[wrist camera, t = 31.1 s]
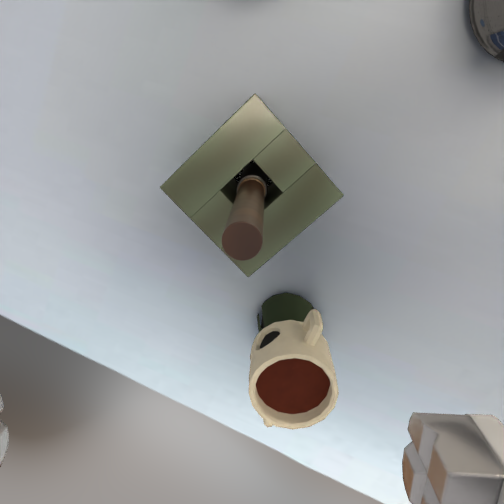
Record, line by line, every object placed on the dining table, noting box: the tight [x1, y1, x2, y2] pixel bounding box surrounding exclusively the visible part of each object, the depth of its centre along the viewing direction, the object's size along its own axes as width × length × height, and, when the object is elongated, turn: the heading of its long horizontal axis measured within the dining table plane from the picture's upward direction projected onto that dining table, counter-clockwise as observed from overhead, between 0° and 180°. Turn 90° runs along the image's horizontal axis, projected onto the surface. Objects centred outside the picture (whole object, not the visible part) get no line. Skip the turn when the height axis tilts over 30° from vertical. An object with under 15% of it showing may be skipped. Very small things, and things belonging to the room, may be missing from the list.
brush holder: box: [160, 94, 344, 277], centre depth 38 cm, size 10×10×9 cm
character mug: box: [249, 293, 339, 429], centre depth 41 cm, size 11×7×13 cm, turn 158°
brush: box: [221, 163, 267, 261], centre depth 32 cm, size 2×2×22 cm
